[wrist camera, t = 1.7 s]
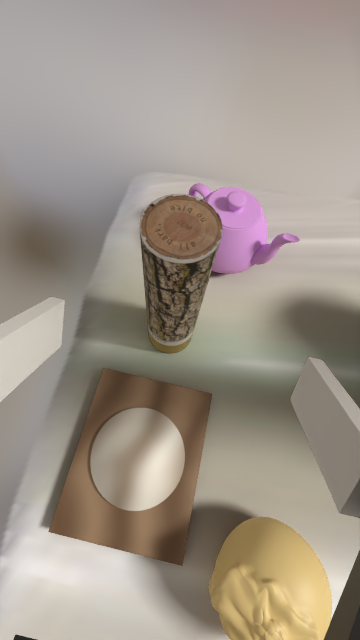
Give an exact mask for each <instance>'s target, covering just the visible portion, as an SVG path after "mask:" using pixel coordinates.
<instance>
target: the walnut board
mask: <svg viewBox="0 0 360 640" xmlns="http://www.w3.org/2000/svg"><path fill="white" fill-rule="evenodd" d="M211 398H212V394H211V393H206V392H202V391H198V390H194V389H189V388H185V387H181V386H177V385H173V384H168V383H164V382H160V381H156V380H152V379H147V378H143V377H139V376H135V375H131V374H126V373H122V372H118V371H114V370H110V369H105V368H103V371H102V374H101V377H100V380H99V383H98V386H97V389H96V392H95V395H94V398H93V401H92V404H91V407H90V410H89V413H88V416H87V419H86V422H85V425H84V428H83V431H82V434H81V437H80V440H79V443H78V446H77V449H76V452H75V455H74V457H73V460H72V463H71V466H70V469H69V472H68V475H67V478H66V481H65V484H64V487H63V490H62V493H61V496H60V499H59V502H58V505H57V508H56V511H55V514H54V517H53V520H52V523H51V526H50V529H49V532H51V533H55V534H59V535H63V536H67V537H71V538H75V539H79V540H83V541H87V542H91V543H95V544H99V545H103V546H107V547H110V548H114V549H118V550H122V551H126V552H130V553H134V554H138V555H142V556H146V557H150V558H154V559H158V560H162V561H166V562H170V563H174V564H178V565H181V566H182V564H183V558H184V552H185V547H186V541H187V535H188V529H189V524H190V518H191V512H192V507H193V501H194V495H195V489H196V484H197V478H198V472H199V466H200V461H201V455H202V449H203V444H204V438H205V432H206V426H207V421H208V415H209V409H210V404H211Z"/></svg>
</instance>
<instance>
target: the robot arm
mask: <svg viewBox="0 0 360 640" xmlns="http://www.w3.org/2000/svg"><path fill="white" fill-rule="evenodd" d="M64 306H65V300H63V299H58V298H54V297H49V298H48V299H46V300H44V301H42V302H40V303H38V304H37V305H35V306H33V307H31V308H29V309H27V310H26V311H24V312H22V313H20V314H18V315H16V316H14V317H13V318H11V319H9V320H7V321H5V322H3V323H1V324H0V402H1V401H2V400H3V399H4V398H5V397H6V396H7V395H8V394H9V393H11V392H12V391H13V390H14V389H15V388H16V387H17V386H18V385H19V384H20V383H21V382H23V381H24V380H25V379H26V378H27V377H28V376H29V375H30V374H31V373H32V372H33V371H35V370H36V369H37V368H38V367H39V366H40V365H41V364H42V363H43V362H44V361H46V360H47V359H48V358H49V357H50V356H51V355H52V354H53V353H54V352H55V351H56V350H57V349H59V347H61V345H62V332H63V319H64ZM290 401H291V403H292V405H293V408H294V410H295V412H296V415H297V417H298V419H299V421H300V424H301V426H302V428H303V431H304V433H305V435H306V438H307V440H308V442H309V444H310V447H311V449H312V451H313V454H314V456H315V458H316V461H317V463H318V465H319V467H320V470H321V472H322V474H323V477H324V479H325V481H326V484H327V486H328V488H329V490H330V493H331V495H332V497H333V500H334V502H335V504H336V507H337V509H338V511H339V513H341V514H345V515H349V516H353V517H358V518H360V409H359V407H358V406H357V405H356V403H355V402H354V401H353V399H352V398H351V397H350V396H349V394H348V393H347V392H346V390H345V389H344V388H343V386H342V385H341V384H340V382H339V381H338V380H337V379H336V377H335V376H334V375H333V373H332V372H331V371H330V369H329V368H328V367H327V366H326V364H325V363H324V362H323V360H320V359H316V358H312V357H308V358H307V360H306V362H305V365H304V367H303V370H302V372H301V374H300V377H299V379H298V382H297V384H296V386H295V389H294V391H293V394H292V396H291V398H290ZM14 640H36V639H32V638H28V637H24V636H20V635H15V637H14ZM324 640H360V551H359V553H358V556H357V558H356V560H355V563H354V565H353V568H352V570H351V573H350V575H349V578H348V580H347V583H346V585H345V588H344V590H343V593H342V595H341V598H340V600H339V603H338V605H337V608H336V610H335V612H334V615H333V617H332V620H331V622H330V625H329V627H328V630H327V632H326V635H325V637H324Z"/></svg>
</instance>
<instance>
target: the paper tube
mask: <svg viewBox="0 0 360 640" xmlns="http://www.w3.org/2000/svg"><path fill="white" fill-rule="evenodd" d="M222 231H223V227H222V221H221V219H220V216H219V214H218V213H217V211H216V210H215V209H214V208H213V207H212V206H211V205H210V204H209V203H207V202H206V201H204V200H202V199H200V198H198V197H195V196H191V195H186V194H172V195H166V196H163V197H160V198H158V199H156V200H155V201H153V202H152V203H150V204H149V205H148V206H147V207H146V209H145V210H144V212H143V214H142V216H141V219H140V237H141V250H142V262H143V274H144V286H145V298H146V310H147V322H148V332H149V338H150V341H151V343H152V344H153V345H154V346H155V347H156V348H157V349H158V350H160V351H162V352H166V353H175V352H179V351H181V350H182V349H184V348H185V347H186V346H187V345H188V343H189V342H190V340H191V337H192V333H193V330H194V327H195V324H196V320H197V317H198V314H199V311H200V307H201V304H202V301H203V297H204V294H205V291H206V287H207V284H208V281H209V277H210V274H211V271H212V267H213V264H214V261H215V257H216V254H217V251H218V247H219V244H220V241H221V236H222Z"/></svg>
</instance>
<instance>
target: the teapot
mask: <svg viewBox="0 0 360 640" xmlns="http://www.w3.org/2000/svg"><path fill="white" fill-rule="evenodd" d="M197 192H199V193H200V194H201V195H202V196H203V198H204V199H203V200H204V201H206V202H207V203H209V204H210V205H211V206H212V207H213V208H214V209H215V210H216V211H217V213H218V214H219V216H220V219H221V221H222V227H223V231H222V236H221V241H220V244H219V247H218V251H217V254H216V257H215V261H214V264H213V267H212V271H214V272H218V273H222V274H231V273H238V272H241V271H244V270H246V269H248V268H250V267H251V266H253V265H254V264H264V263H266V262H268V261H270V260H271V259H272V258H273V257H274V256H275V254H276V253H277V252H278V250H279V249H280V247H281V246H282V245H284V244H285V243H290V242H298V241H300V239H299V238H298V237H297V236H295V235H292V234H280V235H278V236H277V237H276V238H275V239H274V240H273V241H272V243H271V244H266V242H267V232H268V231H267V222H266V218H265V215H264V212H263V210H262V207H261V205H260V203H259V202H258V200H257V199H256V198H255V197H254V196H253V195H252V194H250V193H249V192H247V191H245V190H243V189H240V188H235V187H225V188H221V189H218V190H216V191H214V192H211V191H210V189H209V188H208V187H207V186H205V185H203V184H195V185H193V186H192V187H191V188H190V190H189V195H191V196H195V197H197Z"/></svg>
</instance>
